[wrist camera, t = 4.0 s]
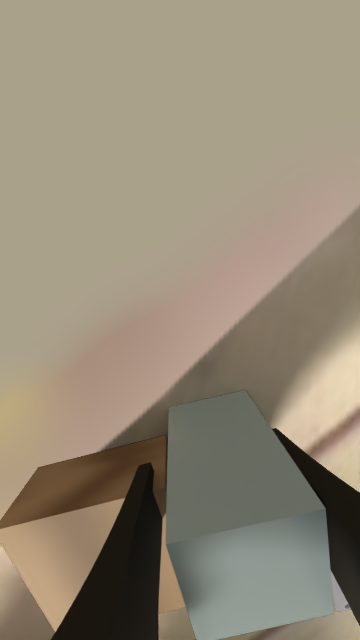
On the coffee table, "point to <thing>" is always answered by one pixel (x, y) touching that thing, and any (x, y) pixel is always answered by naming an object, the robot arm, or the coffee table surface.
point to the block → (80, 523)
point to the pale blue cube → (241, 522)
